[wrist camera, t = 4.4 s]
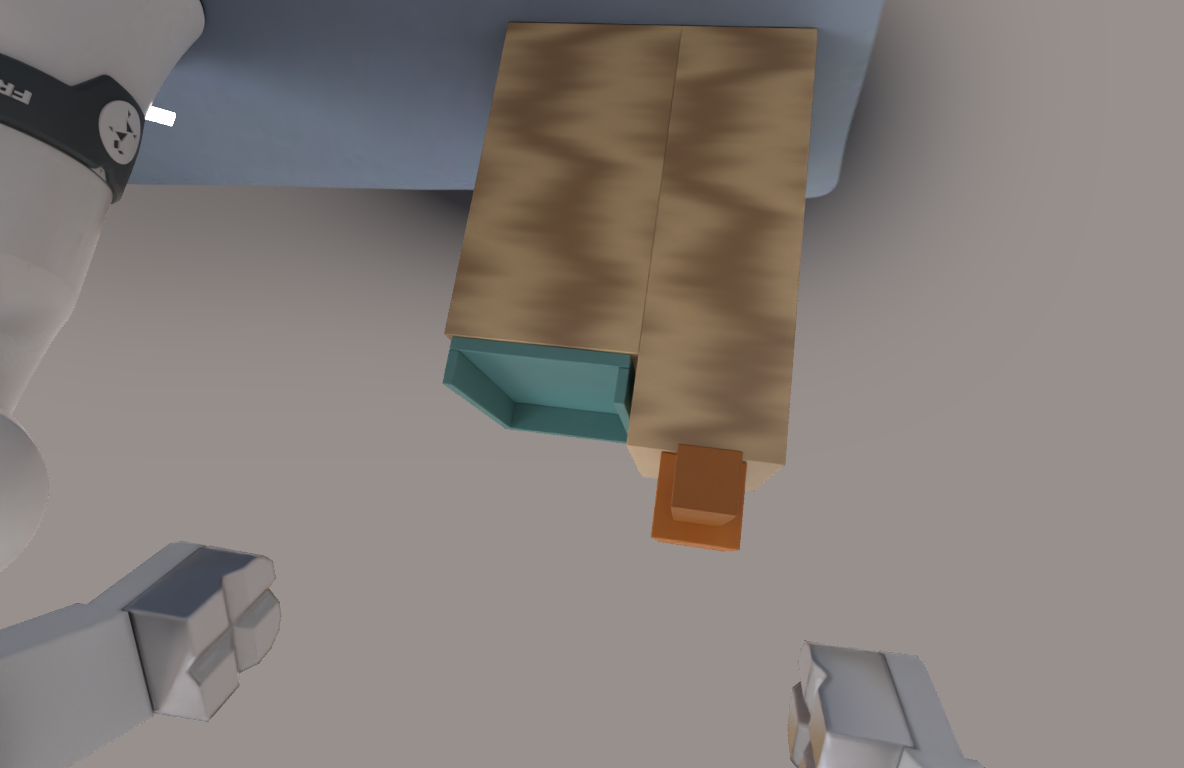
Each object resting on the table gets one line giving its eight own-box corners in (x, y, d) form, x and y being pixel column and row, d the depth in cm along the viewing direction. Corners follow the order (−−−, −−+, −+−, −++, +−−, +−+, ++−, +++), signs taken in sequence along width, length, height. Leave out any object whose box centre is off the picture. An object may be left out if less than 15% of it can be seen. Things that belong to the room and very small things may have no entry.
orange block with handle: (730, 485, 45) (724, 551, 44) (664, 477, 45) (657, 541, 44) (774, 427, 24) (764, 549, 23) (653, 413, 25) (638, 531, 24)
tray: (511, 392, 50) (505, 428, 49) (451, 335, 37) (441, 383, 36) (644, 408, 48) (639, 445, 47) (631, 353, 35) (624, 404, 34)
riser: (550, 152, 55) (495, 457, 49) (508, 22, 41) (425, 420, 35) (782, 164, 52) (754, 491, 46) (818, 28, 38) (785, 465, 32)
